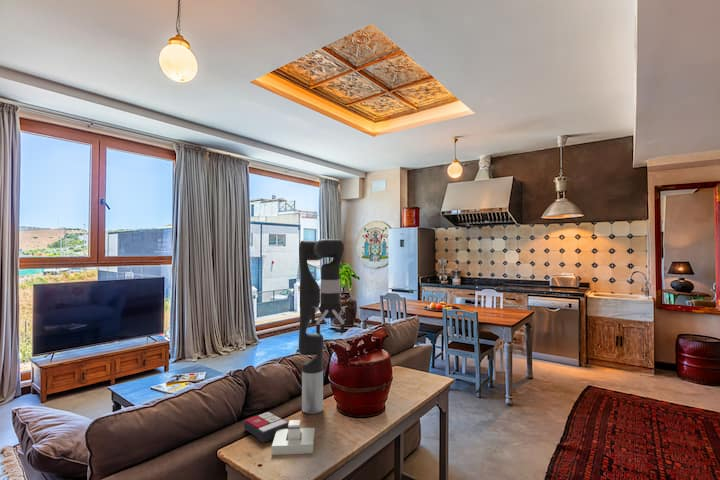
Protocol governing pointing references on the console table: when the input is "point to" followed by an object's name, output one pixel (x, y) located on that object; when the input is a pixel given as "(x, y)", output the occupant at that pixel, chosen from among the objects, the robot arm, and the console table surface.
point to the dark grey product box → (264, 426)
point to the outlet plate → (293, 442)
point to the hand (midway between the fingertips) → (330, 334)
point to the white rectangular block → (294, 430)
